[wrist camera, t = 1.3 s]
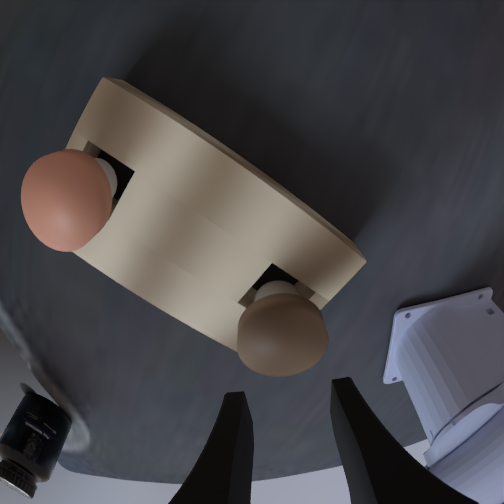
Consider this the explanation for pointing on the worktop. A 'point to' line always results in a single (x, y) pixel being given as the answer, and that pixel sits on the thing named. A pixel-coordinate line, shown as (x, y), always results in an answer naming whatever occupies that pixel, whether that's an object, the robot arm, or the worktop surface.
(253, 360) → the walnut plunger
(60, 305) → the worktop surface
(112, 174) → the terracotta plunger
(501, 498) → the robot arm
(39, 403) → the supplement bottle
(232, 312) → the board
